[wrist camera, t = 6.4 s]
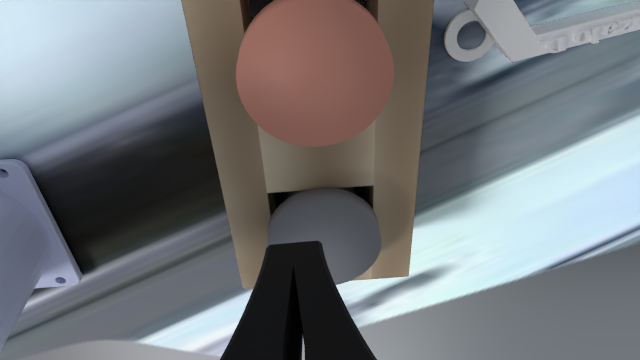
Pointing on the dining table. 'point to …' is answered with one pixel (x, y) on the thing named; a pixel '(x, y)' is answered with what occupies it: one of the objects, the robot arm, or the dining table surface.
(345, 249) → the grey plug
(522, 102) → the dining table surface
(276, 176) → the socket block
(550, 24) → the stepped key frame
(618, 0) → the dining table surface
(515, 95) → the dining table surface
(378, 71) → the brick plug
